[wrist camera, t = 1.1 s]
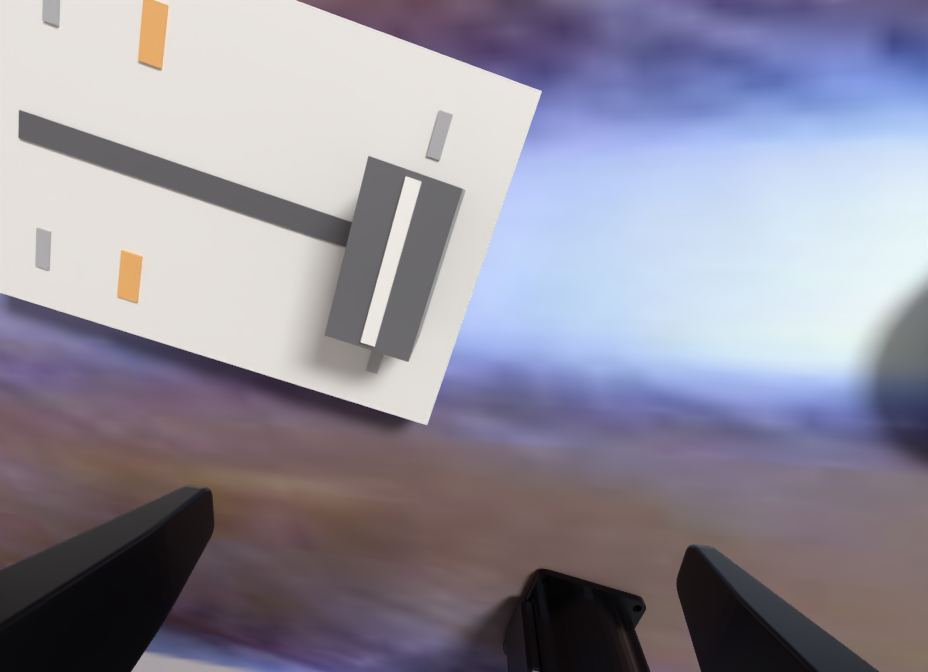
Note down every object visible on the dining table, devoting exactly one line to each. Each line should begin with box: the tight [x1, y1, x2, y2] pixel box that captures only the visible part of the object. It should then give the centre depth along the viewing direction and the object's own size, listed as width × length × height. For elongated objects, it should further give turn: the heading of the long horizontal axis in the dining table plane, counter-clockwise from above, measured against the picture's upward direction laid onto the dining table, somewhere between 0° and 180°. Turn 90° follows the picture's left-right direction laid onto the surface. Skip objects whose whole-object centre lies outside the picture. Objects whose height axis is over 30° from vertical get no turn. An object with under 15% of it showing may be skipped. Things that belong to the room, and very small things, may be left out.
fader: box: [325, 156, 466, 362], centre depth 16 cm, size 3×6×3 cm, turn 162°
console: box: [0, 0, 542, 425], centre depth 18 cm, size 20×14×3 cm
